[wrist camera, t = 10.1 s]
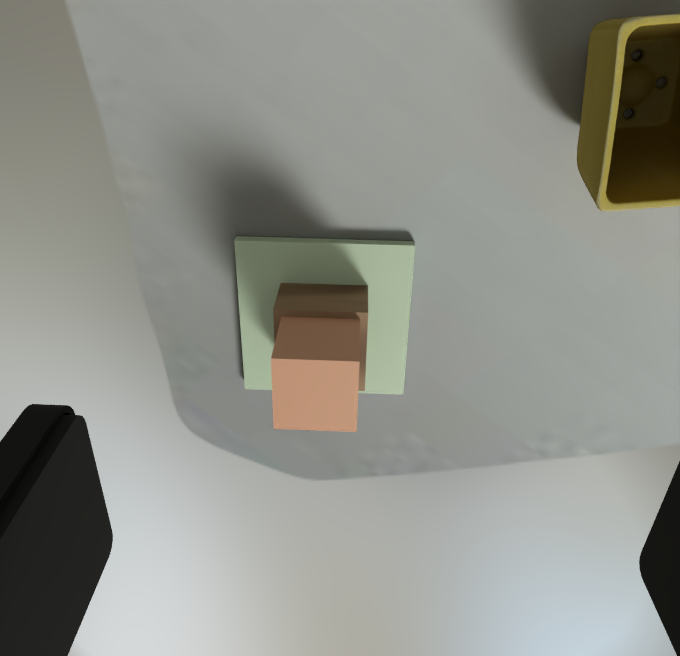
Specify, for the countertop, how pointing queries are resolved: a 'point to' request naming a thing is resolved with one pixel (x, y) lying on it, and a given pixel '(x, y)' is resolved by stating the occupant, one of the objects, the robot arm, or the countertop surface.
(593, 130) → the flower pot
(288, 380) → the cube
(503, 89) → the countertop surface
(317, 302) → the base block
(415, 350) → the countertop surface
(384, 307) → the plate
